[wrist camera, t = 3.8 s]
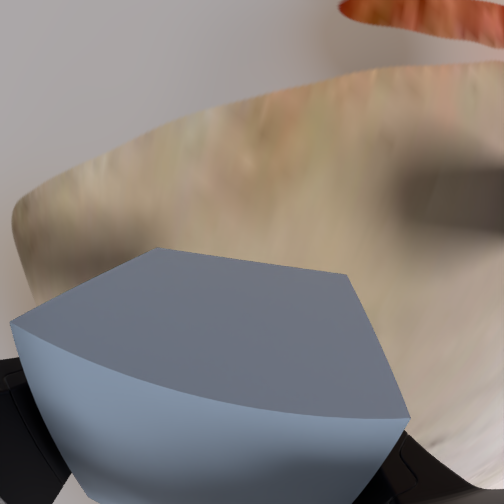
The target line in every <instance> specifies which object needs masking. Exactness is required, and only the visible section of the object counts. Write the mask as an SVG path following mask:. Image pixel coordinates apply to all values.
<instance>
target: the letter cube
mask: <svg viewBox="0 0 504 504" xmlns="http://www.w3.org/2000/svg"><path fill="white" fill-rule="evenodd" d="M10 326H11V330H12V334H13V337H14V341H15V345H16V348H17V351H18V355H19V358H20V361H21V364H22V367H23V370H24V373H25V376H26V379H27V381H28V384H29V387H30V389H31V392H32V394H33V397H34V399H35V402H36V404H37V406H38V409H39V411H40V413H41V415H42V418H43V420H44V422H45V424H46V426H47V428H48V430H49V432H50V434H51V436H52V438H53V440H54V442H55V444H56V446H57V448H58V449H59V451H60V453H61V455H62V457H63V458H64V460H65V462H66V464H67V465H68V467H69V469H70V470H71V472H72V473H73V475H74V477H75V478H76V480H77V481H78V483H79V484H80V486H81V487H82V489H83V490H84V492H85V493H86V495H87V496H88V497H89V498H91V499H92V500H94V501H96V502H98V503H100V504H352V503H353V501H354V500H355V499H356V498H357V497H358V495H359V494H360V493H361V492H362V490H363V489H364V488H365V487H366V485H367V484H368V483H369V481H370V480H371V479H372V477H373V476H374V475H375V473H376V472H377V470H378V469H379V468H380V466H381V465H382V463H383V462H384V460H385V459H386V458H387V456H388V455H389V453H390V452H391V450H392V448H393V447H394V445H395V444H396V442H397V441H398V439H399V437H400V436H401V434H402V432H403V431H404V429H405V427H406V426H407V424H408V422H409V420H410V419H411V417H410V415H409V412H408V410H407V407H406V404H405V402H404V399H403V397H402V394H401V392H400V389H399V387H398V384H397V382H396V380H395V377H394V375H393V372H392V370H391V368H390V365H389V363H388V361H387V359H386V356H385V354H384V352H383V349H382V347H381V345H380V343H379V341H378V338H377V336H376V334H375V332H374V330H373V328H372V325H371V323H370V321H369V319H368V317H367V315H366V313H365V311H364V309H363V307H362V304H361V302H360V300H359V298H358V296H357V294H356V292H355V290H354V288H353V286H352V284H351V282H350V280H349V278H348V276H347V275H346V274H338V273H331V272H324V271H317V270H309V269H302V268H295V267H288V266H281V265H274V264H267V263H260V262H253V261H246V260H239V259H232V258H225V257H218V256H211V255H204V254H198V253H191V252H184V251H177V250H171V249H164V248H155V249H153V250H151V251H149V252H147V253H144V254H142V255H140V256H138V257H136V258H134V259H132V260H129V261H127V262H125V263H123V264H121V265H119V266H117V267H115V268H113V269H111V270H109V271H107V272H105V273H102V274H100V275H98V276H96V277H94V278H92V279H90V280H88V281H86V282H84V283H82V284H80V285H78V286H76V287H74V288H72V289H70V290H68V291H66V292H65V293H63V294H61V295H59V296H57V297H55V298H53V299H51V300H49V301H47V302H45V303H43V304H41V305H40V306H38V307H36V308H34V309H32V310H30V311H28V312H27V313H25V314H23V315H21V316H19V317H17V318H16V319H14V320H12V321H10Z"/></svg>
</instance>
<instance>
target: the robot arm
mask: <svg viewBox="0 0 504 504" xmlns="http://www.w3.org/2000/svg"><path fill="white" fill-rule="evenodd" d="M71 473H72V472H71V470H70V469H69V467H68V465H67V464H66V462H65V460H64V458H63V457H62V455H61V453H60V451H59V449H58V448H57V446H56V444H55V442H54V440H53V438H52V436H51V434H50V432H49V430H48V428H47V426H46V424H45V422H44V420H43V418H42V415H41V413H40V411H39V409H38V406H37V404H36V402H35V399H34V397H33V394H32V392H31V389H30V387H29V384H28V381H27V379H26V376H25V373H24V370H23V367H22V364H21V361H20V358H19V357H17V358H11V359H3V360H0V504H52V503H53V502H54V500H55V499H56V497H57V495H58V494H59V492H60V490H61V489H62V488H63V485H64V484H65V482H66V481H67V479H68V477H69V476H70V475H71ZM352 504H504V489H482V488H479V487H476V486H474V485H472V484H470V483H468V482H467V481H466V480H464V479H463V478H461V477H460V476H459V475H457V474H456V473H455V472H453V471H452V470H451V469H449V468H448V467H446V466H445V465H444V464H442V463H441V462H440V461H439V460H437V459H436V458H435V457H434V456H432V455H431V454H430V453H429V452H427V451H426V450H425V449H424V448H423V447H422V446H421V445H420V444H419V443H418V442H416V441H415V440H414V439H413V438H412V437H411V436H410V435H408V433H407V432H406V431H405V430H404V431H403V432H402V434H401V436H400V437H399V439H398V441H397V442H396V444H395V445H394V447H393V448H392V450H391V452H390V453H389V455H388V456H387V458H386V459H385V460H384V462H383V463H382V465H381V466H380V468H379V469H378V470H377V472H376V473H375V475H374V476H373V477H372V479H371V480H370V481H369V483H368V484H367V485H366V487H365V488H364V489H363V490H362V492H361V493H360V494H359V495H358V497H357V498H356V499H355V500H354V501H353V503H352Z"/></svg>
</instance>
